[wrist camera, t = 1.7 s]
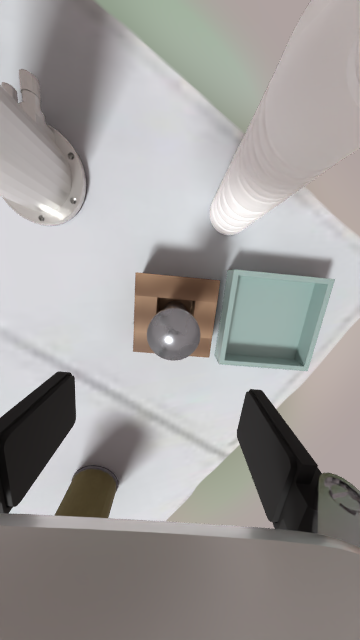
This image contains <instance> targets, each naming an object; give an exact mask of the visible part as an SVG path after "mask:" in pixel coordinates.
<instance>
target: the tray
mask: <svg viewBox="0 0 360 640" xmlns="http://www.w3.org/2000/svg"><path fill="white" fill-rule="evenodd" d="M334 281H335V279H327V278H317V277H307V276H297V275H286V274H276V273H266V272H256V271H246V270H236V269H233V270H228V271H227V277H226V284H225V291H224V297H223V304H222V310H221V317H220V323H219V330H218V337H217V343H216V350H215V357H216V359H217V361H218V363H219V364H222V365H235V366H248V367H261V368H274V369H287V370H300V371H308V368H309V365H310V361H311V358H312V355H313V351H314V348H315V345H316V341H317V338H318V334H319V331H320V328H321V324H322V321H323V318H324V314H325V311H326V308H327V304H328V301H329V298H330V294H331V291H332V288H333V284H334Z"/></svg>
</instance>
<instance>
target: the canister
mask: <svg viewBox="0 0 360 640" xmlns="http://www.w3.org/2000/svg"><path fill="white" fill-rule="evenodd" d="M117 488H118V481H117V478H116V476H115V475H114V474H113V473H112V472H111V471H109V470H108V469H106V468H104V467H99V466H88V467H84V468H82V469H80V470H78V471H77V472H76V473H75V474H74V476H73V478H72V482H71V484H70V486H69V488H68V490H67V492H66V494H65V496H64V498H63V500H62V502H61V504H60V506H59V508H58V510H57V512H56V514H55V516H72V517H92V518H108V517H109V513H110V510H111V506H112V503H113V499H114V496H115V493H116V491H117Z"/></svg>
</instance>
